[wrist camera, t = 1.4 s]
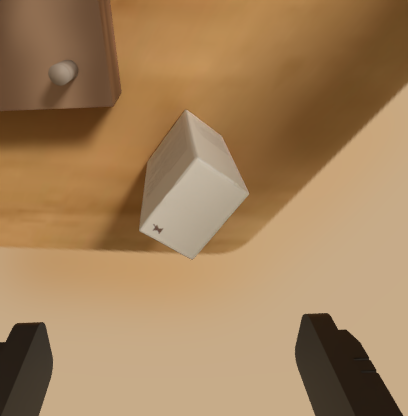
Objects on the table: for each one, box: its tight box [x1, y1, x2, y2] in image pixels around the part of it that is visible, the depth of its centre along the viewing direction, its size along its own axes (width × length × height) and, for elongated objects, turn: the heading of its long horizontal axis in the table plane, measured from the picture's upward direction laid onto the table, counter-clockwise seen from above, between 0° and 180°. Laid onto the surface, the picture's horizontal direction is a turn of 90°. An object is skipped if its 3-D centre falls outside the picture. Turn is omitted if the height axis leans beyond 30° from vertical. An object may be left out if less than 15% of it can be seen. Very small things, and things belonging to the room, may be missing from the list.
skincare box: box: [139, 110, 249, 259], centre depth 27 cm, size 6×4×12 cm
